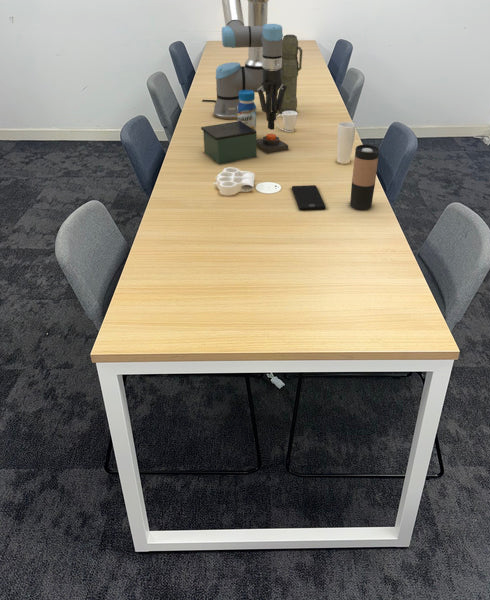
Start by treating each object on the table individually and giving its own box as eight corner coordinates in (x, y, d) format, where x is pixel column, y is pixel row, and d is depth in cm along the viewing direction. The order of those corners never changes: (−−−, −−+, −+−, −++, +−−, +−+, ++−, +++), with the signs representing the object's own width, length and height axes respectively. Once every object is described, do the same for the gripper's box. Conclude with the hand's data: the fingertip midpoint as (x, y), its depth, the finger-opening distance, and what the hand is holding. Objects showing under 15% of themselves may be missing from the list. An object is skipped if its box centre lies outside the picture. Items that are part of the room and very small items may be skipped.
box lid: (215, 140, 211) (215, 137, 210) (201, 129, 221) (200, 127, 221) (256, 133, 217) (256, 131, 217) (240, 123, 228) (240, 120, 227)
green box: (219, 164, 217) (218, 139, 211) (204, 152, 227) (203, 128, 221) (256, 157, 223) (256, 133, 218) (240, 146, 234) (240, 123, 228)
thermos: (298, 115, 270) (302, 37, 250) (275, 114, 271) (276, 36, 251) (300, 110, 277) (304, 34, 257) (277, 109, 279) (278, 33, 258)
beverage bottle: (259, 137, 243) (260, 90, 232) (251, 143, 237) (251, 95, 225) (242, 134, 246) (242, 88, 234) (234, 140, 240) (232, 92, 228)
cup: (296, 133, 248) (297, 115, 243) (274, 132, 249) (274, 114, 244) (297, 128, 254) (298, 110, 249) (276, 127, 254) (276, 109, 250)
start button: (264, 138, 231) (264, 134, 230) (272, 137, 233) (272, 133, 232) (269, 141, 228) (269, 137, 227) (277, 139, 230) (277, 135, 229)
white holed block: (253, 196, 193) (211, 195, 193) (255, 176, 207) (216, 175, 207) (252, 187, 191) (210, 186, 191) (255, 167, 205) (215, 166, 205)
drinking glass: (353, 160, 222) (357, 122, 213) (349, 166, 217) (353, 128, 208) (337, 158, 224) (340, 120, 215) (333, 163, 218) (336, 126, 210)
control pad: (253, 145, 235) (253, 135, 233) (274, 141, 239) (274, 132, 237) (267, 154, 226) (267, 144, 224) (288, 150, 230) (288, 140, 228)
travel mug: (347, 201, 190) (353, 144, 178) (369, 200, 191) (376, 144, 179) (351, 211, 184) (358, 153, 172) (374, 210, 184) (382, 152, 173)
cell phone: (299, 210, 184) (299, 207, 183) (291, 188, 198) (291, 185, 198) (325, 209, 184) (325, 206, 184) (315, 187, 199) (315, 184, 198)
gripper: (261, 72, 209) (261, 133, 223) (291, 68, 214) (289, 129, 228) (252, 68, 215) (252, 128, 228) (281, 64, 220) (280, 123, 233)
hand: (271, 128), depth 228 cm, fingers closed
